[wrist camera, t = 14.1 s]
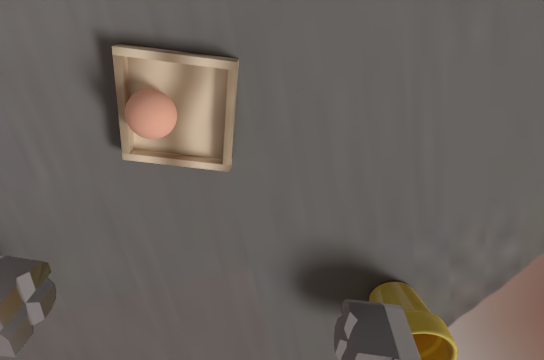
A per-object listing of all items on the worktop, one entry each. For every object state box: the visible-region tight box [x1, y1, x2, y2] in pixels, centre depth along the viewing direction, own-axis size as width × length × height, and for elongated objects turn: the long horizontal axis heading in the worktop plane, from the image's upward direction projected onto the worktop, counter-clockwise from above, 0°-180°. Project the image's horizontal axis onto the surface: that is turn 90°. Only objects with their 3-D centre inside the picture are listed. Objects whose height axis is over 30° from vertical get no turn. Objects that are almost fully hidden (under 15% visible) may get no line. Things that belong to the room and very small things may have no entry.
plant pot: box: [369, 282, 458, 360], centre depth 46 cm, size 10×10×10 cm
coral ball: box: [125, 89, 177, 139], centre depth 34 cm, size 5×5×5 cm
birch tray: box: [112, 44, 239, 172], centre depth 36 cm, size 12×12×2 cm
